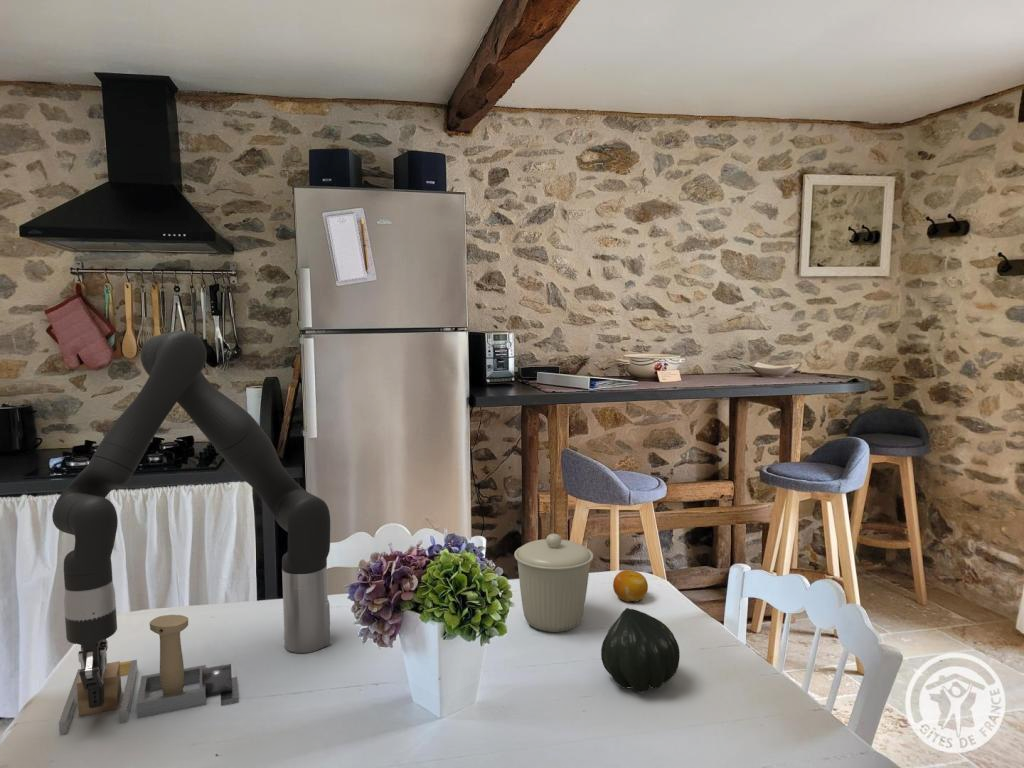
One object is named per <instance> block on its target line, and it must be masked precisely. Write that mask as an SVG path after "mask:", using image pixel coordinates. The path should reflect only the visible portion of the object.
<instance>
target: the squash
mask: <svg viewBox="0 0 1024 768" xmlns="http://www.w3.org/2000/svg"><path fill="white" fill-rule="evenodd" d="M601 644H602V645H601V650H600V653H601V654H600V655H601V662H602V666H603V667H604V669H605V670H606V671H607V673H608V674H609V676H611V677H612V679H613V681H615V683H616V684H617V685H618V686H620V687H621V688H623V687H624V689H628V688H627V687H631V689H632V690H633V691H634V692H635V693H636V692H637V693H644V692H646V691H647V690H648V687H650V688H651V689H659V688H661V686H663V684H664V683H666V682H669V681H670V680H671V679H672V678H673V677H674V676H675V674H676V673H677V671H678V668H679V664H680V657H681V656H680V653H681V652H680V646H679V643H678V642H677V639H676V637H675V635H674V633H673V632H672V631H671V629H670V628H669V627H668V626H667V625H666V624H665V623H663V622H662V621H661V620H660V619H658V618H655V617H653V616H652V615H650V614H647V613H645V612H643V611H640V610H637V609H635V608H629V607H626V608H625V609H624V610H623V611H622V612H621V614H620V615H619V616H618V617H617V619H616V620H615V621H614V622H613V623H612V625H610V627H609V629H608V631H607V634H606V636H605V637H604V639H603V641H602V643H601Z"/></svg>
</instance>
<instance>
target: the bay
mask: <svg viewBox="0 0 1024 768" xmlns="http://www.w3.org/2000/svg"><path fill="white" fill-rule="evenodd" d="M80 670H81V668H80V669H77V672H76V674H75V678H74V679H73V682H72V685H71V688H70V691H69V693H68V697H67V698H66V702H65V705H64V707H63V710H62V713H61V715H60V717H59V720H58V729H59V730H58V731H59V736H61V735H66V734H68V731H69V729H70V728H69V727H70V726H71V722H72V719H73V716H74V714H75V710H76V708H77V706H78V696H77V681H78V678H79V672H80ZM120 675H121V677H122V676H127V678H126V683H125V686H124V690H123V691H124V692H123V695H122V700H121V705H120V709H119V716H120V724H123V723H128V719H129V714H130V709H131V706H132V705H131V704H132V699H133V694H134V690H135V685H136V684H135V683H136V680H137V675H138V659H133V660H128V661H122V662H120Z"/></svg>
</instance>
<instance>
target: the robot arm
mask: <svg viewBox="0 0 1024 768" xmlns="http://www.w3.org/2000/svg"><path fill="white" fill-rule="evenodd" d="M207 356H208V355H207V348H206V346H205V343H204V341H203V340H202V339H201V338H200V337H199V336H198V335H196V334H195V333H193V332H190V331H186V330H185V331H184V330H176V331H170V332H166V333H162V334H158V335H154V336H152V337H150V338H149V339H148V340H146V341H144V344H143V345H142V347H141V350H140V361H141V365H142V367H143V369H144V371H145V373H146V374H147V375H148V378H147V380H146V382H145V383H144V385H143V386H142V388H141V390H140V391H139V393H138V394H137V395H136V397H135V398H134V399H133V401H132V402H131V403H130V405H128V407H127V408H126V409H125V410H124V411H123V412H122V414H120V416H119V417H118V418H117V419H116V420H115V421H114V423H113V424H112V425H111V426H110V428H109V429H108V431H107V432H106V434H105V435H104V437H103V439H102V440H101V441H100V443H99V445H97V448H96V450H95V452H94V453H93V456H92V457H91V459H90V461H89V462H88V464H87V465H86V466H85V468H83V470H81V471H80V472H79V473H78V475H76V476H75V478H73V480H72V481H71V482H70V483H69V484H68V485H67V487H65V489H64V490H63V491H62V492H61V493H60V494H59V495H60V496H58V498H57V500H56V502H55V503H54V506H53V510H52V516H51V517H52V522H53V525H54V527H55V528H56V529H58V530H59V531H60V532H63V533H66V534H68V535H71V536H74V548H73V549H72V550H71V551H69V552H68V553H67V554H66V555H65V556H64V558H63V559H64V560H63V580H64V582H63V583H64V597H63V606H64V607H63V610H64V621H65V623H64V624H65V634H66V635H65V637H66V640H67V642H69V643H71V644H73V645H80V650H79V651H78V662H79V663H80V669H81V670H80V672H79V675H80V677H81V680H82V684H83V687H84V690H88V702H89V708H96V707H101V706H102V705H103V703H104V684H103V683H104V679H105V676H104V673H105V671H106V665H107V663H108V659H107V652H108V648H109V645H108V640H107V639H108V638H110V637H112V636H114V635H115V633H116V632H117V630H118V622H117V621H118V619H117V604H116V603H117V602H116V601H117V600H116V590H115V586H114V585H115V584H114V581H113V565H112V554H113V551H114V546H115V541H116V535H117V532H118V531H117V530H118V525H119V524H118V522H119V520H118V513H117V510H116V507H115V505H114V504H113V503H112V501H111V500H110V499H108V498H106V497H107V496H108V495H109V494H110V493H111V491H113V490H115V489H117V488H121V487H124V486H126V485H127V484H128V483H129V481H130V480H131V478H132V476H133V475H134V473H135V472H136V470H137V468H138V466H139V464H140V462H141V461H142V459H143V457H144V455H145V453H146V452H147V450H148V447H149V446H150V445H151V442H152V441H153V440H154V438H155V436H156V434H157V433H158V431H159V429H160V428H161V426H162V424H163V423H164V421H165V419H166V418H167V417H168V415H169V414H170V412H172V410H173V408H174V407H175V406H176V404H178V405H179V406H180V407H181V408H182V410H184V411H185V413H186V414H187V415H188V416H189V418H190V419H191V420H192V422H193V423H194V424H195V425H196V426H197V428H198V429H199V430H200V432H201V433H202V434H203V435H204V437H206V439H207V440H208V441H209V443H210V444H211V445H212V447H214V449H215V450H216V451H217V452H218V454H220V456H221V457H222V458H223V459H224V461H225V462H226V463H228V465H229V466H230V467H231V468H232V469H233V470H234V471H235V472H236V473H237V475H238V476H240V477H241V478H242V479H243V480H244V481H245V482H246V483H247V484H248V485H250V487H252V489H253V490H255V492H256V493H257V495H259V497H260V498H261V500H262V501H263V503H264V505H266V507H267V508H268V510H269V511H270V513H271V515H272V516H273V518H274V519H275V521H276V523H277V524H278V526H280V527H281V529H283V530H284V532H287V552H285V553H284V554H283V555H282V558H281V573H282V574H281V575H282V580H281V581H282V600H283V601H282V604H283V605H282V607H283V634H284V635H283V636H284V637H283V640H284V648H285V650H287V651H288V652H291V653H293V654H294V653H296V654H308V653H313V652H316V651H319V650H322V649H323V648H325V647H329V646H331V644H332V643H331V613H330V612H331V610H330V609H331V607H330V601H329V598H328V597H329V596H328V594H329V593H328V566H327V565H328V562H327V561H328V557H329V554H330V551H331V514H330V513H331V512H330V508H329V507H328V504H327V503H326V502H325V501H324V500H323V499H322V498H320V497H319V496H316V495H314V494H312V493H310V492H308V491H307V490H306V489H304V488H303V487H302V486H301V485H300V484H299V483H298V482H297V481H296V480H295V479H294V478H293V477H292V476H291V474H289V473H288V471H287V470H286V469H285V467H284V466H283V464H282V462H281V460H280V458H279V455H278V453H277V450H276V448H275V446H274V444H273V442H272V440H271V439H270V437H269V436H268V434H267V433H266V432H265V430H264V429H263V428H262V427H261V425H259V423H258V422H257V420H255V418H254V417H253V416H252V415H251V414H250V413H249V412H248V411H246V409H244V408H243V407H242V406H241V405H239V404H237V403H236V402H235V401H234V400H232V399H231V398H229V397H228V396H227V395H225V394H223V392H221V391H220V390H218V389H217V388H216V387H215V386H214V385H213V384H212V383H211V382H210V381H209V380H208V379H207V377H206V376H205V375H204V373H203V372H202V370H203V369H204V367H205V365H206V362H207V358H208V357H207Z"/></svg>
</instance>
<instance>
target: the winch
mask: <svg viewBox="0 0 1024 768" xmlns="http://www.w3.org/2000/svg"><path fill="white" fill-rule="evenodd" d="M232 675H233V674H232V663H227V664H220V665H217V666H210V667H207V665H206V664H203V665H198V666H192V667H186V668H185V667H184V685H183V686H187V685H191V684H192V685H193V684H197V683H199V685H198V687H199V688H197V689H191V690H187V691H183V692H180V693H175V694H169V695H164V696H163V695H159V696H155V697H148V693H149V692H153V691H154V692H155V691H158V690H159V691H160V690H162V687H161V681H160V672H158V673H152V674H147V675H146V674H145V675H141V676H140V684H139V688H138V692H137V693H138V694H137V698H136V718H137V719H141V718H146V717H152V716H157V715H162V714H165V713H166V714H167V713H172V712H177V711H181V710H182V711H183V710H186V709H187V710H188V709H192V708H198V707H202V706H206V705H207V697H208V696H213V695H218V694H219V695H220V706H221V707H222V706H227V705H230V704H231V705H232V704H237V703H239V702H240V701H239V700H240V699H239V687H238V685H239V684H238V676H233V677H232Z"/></svg>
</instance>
